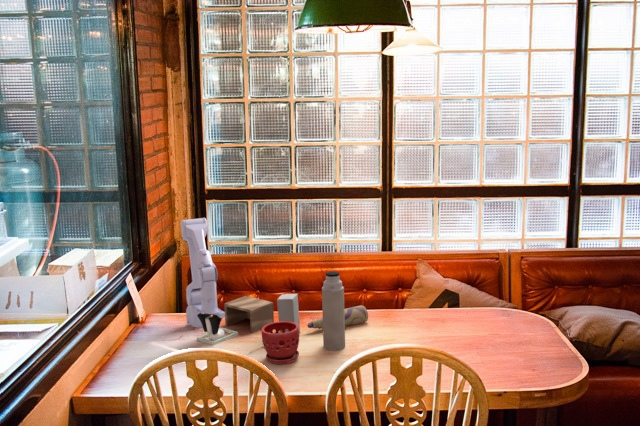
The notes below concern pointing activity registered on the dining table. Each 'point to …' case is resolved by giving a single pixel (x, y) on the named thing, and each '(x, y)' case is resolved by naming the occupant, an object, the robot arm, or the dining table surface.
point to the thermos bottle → (333, 312)
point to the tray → (233, 333)
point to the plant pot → (281, 342)
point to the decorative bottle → (346, 317)
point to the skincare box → (288, 309)
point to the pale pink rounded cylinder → (217, 335)
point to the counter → (249, 312)
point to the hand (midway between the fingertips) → (211, 332)
